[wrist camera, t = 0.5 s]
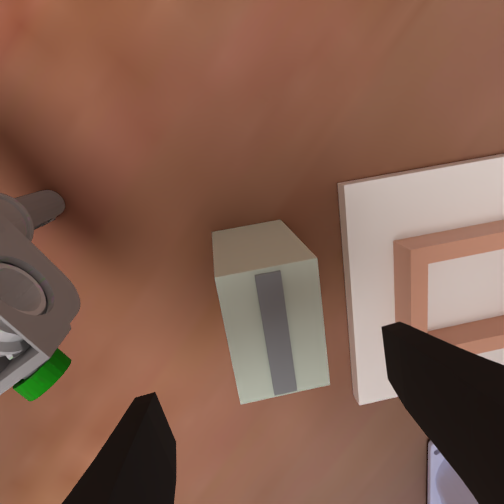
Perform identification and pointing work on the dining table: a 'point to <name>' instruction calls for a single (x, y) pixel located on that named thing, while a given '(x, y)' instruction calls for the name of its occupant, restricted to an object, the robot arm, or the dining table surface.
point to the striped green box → (270, 310)
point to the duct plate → (423, 262)
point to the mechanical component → (31, 298)
